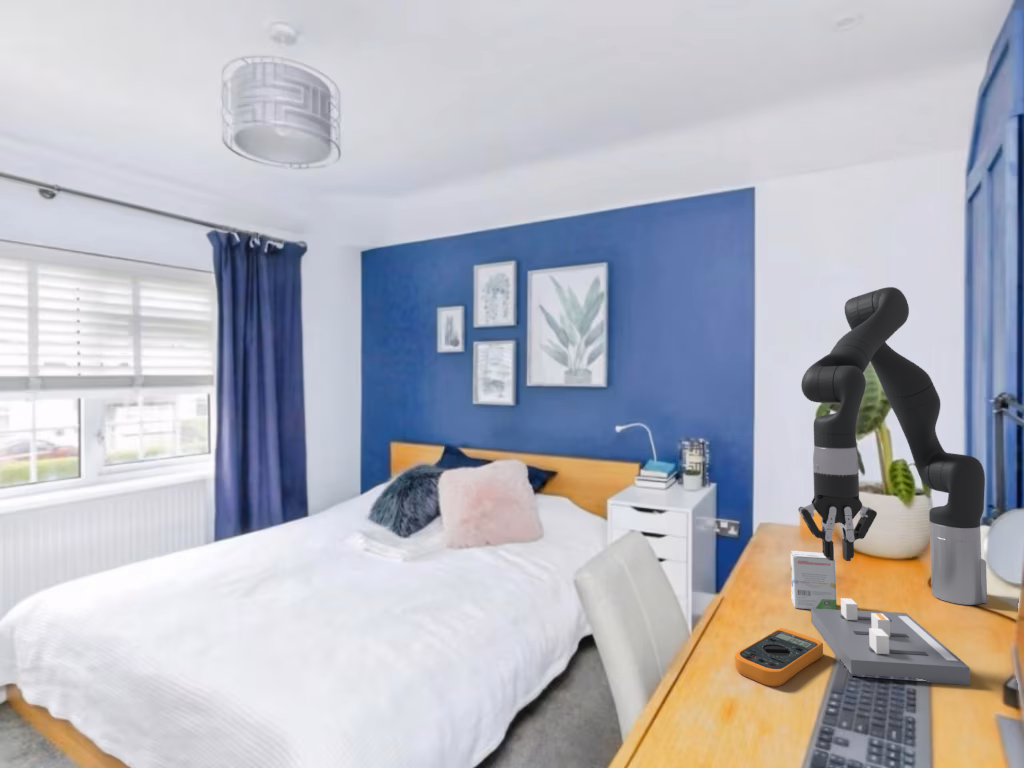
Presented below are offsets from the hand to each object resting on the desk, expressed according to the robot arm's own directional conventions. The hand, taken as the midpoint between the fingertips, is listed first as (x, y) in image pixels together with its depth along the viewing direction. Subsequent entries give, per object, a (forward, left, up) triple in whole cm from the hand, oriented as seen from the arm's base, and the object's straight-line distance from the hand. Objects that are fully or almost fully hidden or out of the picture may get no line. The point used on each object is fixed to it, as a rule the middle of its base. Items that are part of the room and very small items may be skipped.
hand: (838, 559), depth 107 cm
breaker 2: (-4, +7, -14) cm, 16 cm away
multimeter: (+13, +8, -18) cm, 23 cm away
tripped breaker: (-7, 0, -14) cm, 16 cm away
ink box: (-1, -20, -17) cm, 27 cm away
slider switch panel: (-7, 0, -17) cm, 18 cm away
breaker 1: (-4, -7, -14) cm, 16 cm away
